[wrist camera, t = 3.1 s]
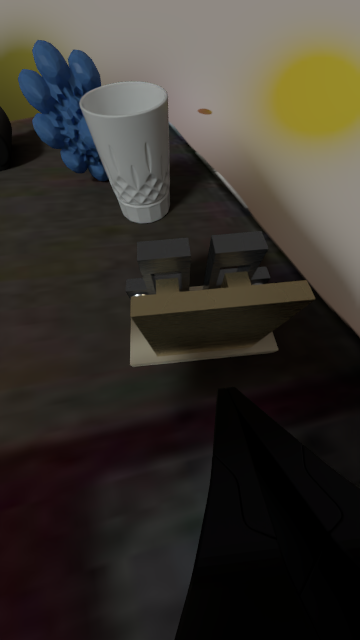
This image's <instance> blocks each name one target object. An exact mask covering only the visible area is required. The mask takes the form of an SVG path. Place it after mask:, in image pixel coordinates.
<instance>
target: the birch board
mask: <svg viewBox="0 0 360 640" xmlns="http://www.w3.org/2000/svg"><path fill="white" fill-rule="evenodd" d="M197 290H203V286H195V287H189V291H197ZM276 351H278V347H277V344H276V341H275V338H274V335H273V332H271V333H270V334H268V335H267V336H266V337H264V338H263V339H262V340H260V341H259V342H258V343H256V344H255V345H254V346H252V347H250V348H240V349H230V350H220V351H210V352H200V353H190V354H180V355H170V356H159V357H157V355H156V354H155V352H154V351H153V349H152V348H151V346H150V345H149V343H148V342H147V340H146V339H145V337H144V336H143V334H142V333H141V331H140V330H139V329H138V327H137V326H136V324H135V323H134V321H133V320H132V318H131V346H130V365H131V366H133V367H136V366H146V365H156V364H166V363H176V362H186V361H196V360H206V359H216V358H226V357H236V356H246V355H256V354H266V353H274V352H276Z"/></svg>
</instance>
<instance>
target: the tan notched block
mask: <svg viewBox="0 0 360 640" xmlns="http://www.w3.org/2000/svg"><path fill="white" fill-rule="evenodd" d="M314 300H315V297H314V294H313V292H312V290H311V288H310V286H309V284H308V282H307V280H303V281H293V282H282V283H271V284H261V285H251V282H250V279H249V276H248V273H247V271H245V272H234V273H225V275H224V278H223V281H222V284H221V288H218V289H207V290H197V291H186V292H179V283H178V278H169V279H158V280H156V294H154V295H143V296H133V297H131V318H132V320H133V321H134V323H135V324H136V326H137V327H138V329H139V330H140V331H141V333H142V334H143V336H144V337H145V339H146V340H147V342H148V343H149V345H150V346H151V348H152V349H153V351H154V352H155V354H156V355H157V357H159V356H170V355H180V354H190V353H200V352H210V351H220V350H230V349H240V348H250V347H252V346H254V345H255V344H256V343H258V342H259V341H260V340H262V339H263V338H264V337H266V336H267V335H268V334H270V333H271V332H272V331H274V330H275V329H276V328H278V327H279V326H280V325H282V324H283V323H284V322H286V321H287V320H288V319H290V318H291V317H292V316H294V315H295V314H296V313H298V312H299V311H300V310H302V309H303V308H304V307H306V306H307V305H308V304H310V303H311V302H312V301H314Z"/></svg>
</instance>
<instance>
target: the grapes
mask: <svg viewBox="0 0 360 640" xmlns="http://www.w3.org/2000/svg"><path fill="white" fill-rule="evenodd" d="M32 51H33V56H34V60H35V63H36V66H37V69H38V70H39V72H40V73H41V75H42V77H41V76H40V75H39V74H38V73H37V72H35V71H31V70H27V69H22V71H21V72H20V74H19V77H18V81H19V85H20V88H21V90H22V93H23V95H24V96H25V98H26V99H27V100H28V102H29V103H30V104H31V105H32V106H33V107H34V108H35V109H37V110H38V111H40V112H41V113H42V114H40V113H37V114H36V115H35V117H34V119H33V126H34V129H35V131H36V133H37V135H38V136H39V137H40V139H41V140H42V141H43V142H45V143H46V144H48V145H49V146H50V147H52V148H56V149H62V150H61V151H60V152H61V157H62V160H63V162H64V163H65V165H66V166H67V167H68V168H70V169H71V170H73V171H74V172H76V173H84V172H85V171H86V170H87V168H88V169H89V172H90V173H91V175H92V176H93V177H95V178H96V179H98V180H99V181H107V180H108V176H107V174H106V171H105V169H104V167H103V164H102V162H101V159H100V157H99V154H98V151H97V149H96V146H95V144H94V141H93V139H92V136H91V133H90V131H89V128H88V126H87V123H86V121H85V118H84V116H83V113H82V111H81V108H80V105H79V102H80V99H81V98H82V97H83V96H84V95H85V94H86V93H87V92H89V91H91V90H93V89H95V88H98V87H100V86H101V80H100V74H99V72H98V70H97V68H96V66H95V64H94V63H93V61H92V59H91V58H90V57H89V56H88V55H87V54H86V53H84V52H82V51H80V50H73V51H72V52H71V54H70V56H69V58H68V62H69V66H68V65H67V63H66V61H65V59H64V58H63V56H62V55H61V53H60V52H59V51H58V50H57V49H56V48H55V47H54V46H53V45H52V44H51V43H48V42H46V41H42V40H38V41H37V42H36V43H35V44H34V47H33V50H32Z"/></svg>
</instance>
